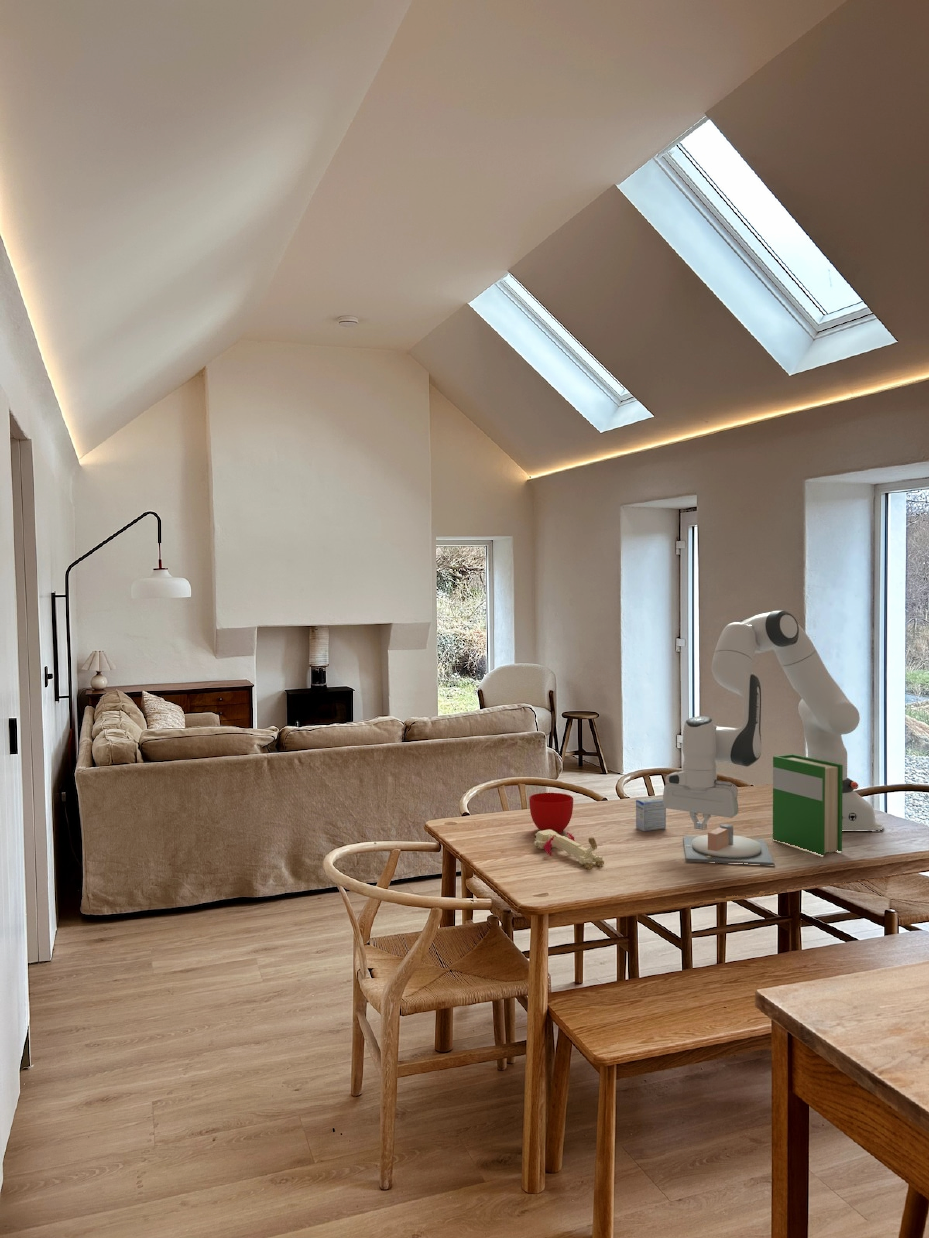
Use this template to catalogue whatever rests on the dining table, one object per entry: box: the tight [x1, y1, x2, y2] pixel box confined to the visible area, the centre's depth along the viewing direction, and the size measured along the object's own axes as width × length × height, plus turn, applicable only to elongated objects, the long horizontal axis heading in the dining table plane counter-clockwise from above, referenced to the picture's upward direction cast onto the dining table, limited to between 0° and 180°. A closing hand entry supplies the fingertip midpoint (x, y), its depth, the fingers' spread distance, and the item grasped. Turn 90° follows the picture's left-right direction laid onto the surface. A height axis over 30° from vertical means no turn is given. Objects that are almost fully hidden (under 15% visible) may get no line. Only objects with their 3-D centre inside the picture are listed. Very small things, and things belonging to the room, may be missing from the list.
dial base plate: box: [682, 835, 775, 866], centre depth 248 cm, size 22×22×1 cm
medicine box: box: [635, 796, 667, 832], centre depth 272 cm, size 8×4×9 cm, turn 113°
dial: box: [692, 823, 761, 858], centre depth 248 cm, size 18×18×6 cm
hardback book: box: [772, 753, 843, 856], centre depth 252 cm, size 18×7×24 cm, turn 26°
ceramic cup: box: [528, 792, 574, 835], centre depth 272 cm, size 13×17×10 cm
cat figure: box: [533, 829, 605, 870], centre depth 245 cm, size 10×9×25 cm
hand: (700, 829), depth 246 cm, fingers closed
